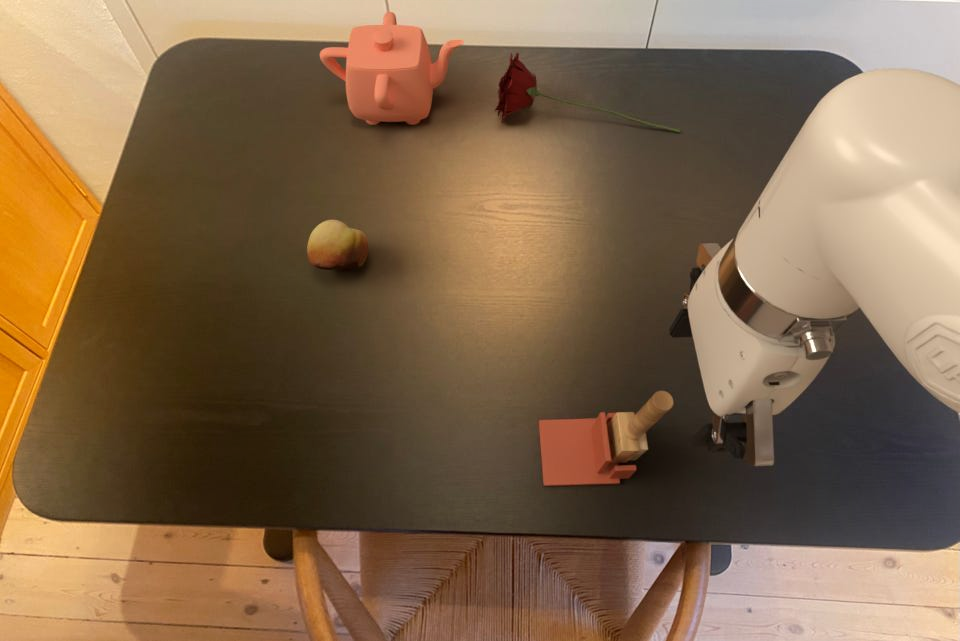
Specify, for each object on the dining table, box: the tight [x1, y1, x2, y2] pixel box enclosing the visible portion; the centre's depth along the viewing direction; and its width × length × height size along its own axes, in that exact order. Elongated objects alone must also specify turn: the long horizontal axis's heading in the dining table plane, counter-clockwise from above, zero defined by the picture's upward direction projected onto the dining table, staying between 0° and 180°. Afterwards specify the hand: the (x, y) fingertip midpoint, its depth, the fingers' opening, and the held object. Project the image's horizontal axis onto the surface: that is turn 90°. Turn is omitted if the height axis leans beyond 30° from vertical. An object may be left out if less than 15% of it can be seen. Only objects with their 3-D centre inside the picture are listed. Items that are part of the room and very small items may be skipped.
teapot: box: [319, 11, 465, 126], centre depth 94 cm, size 17×16×13 cm
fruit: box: [306, 219, 369, 272], centre depth 82 cm, size 8×8×8 cm
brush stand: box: [538, 411, 637, 487], centre depth 71 cm, size 10×8×7 cm
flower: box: [494, 52, 681, 134], centre depth 96 cm, size 11×10×30 cm
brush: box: [607, 390, 674, 464], centre depth 64 cm, size 15×4×3 cm
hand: (698, 385), depth 50 cm, fingers open, 9 cm apart
